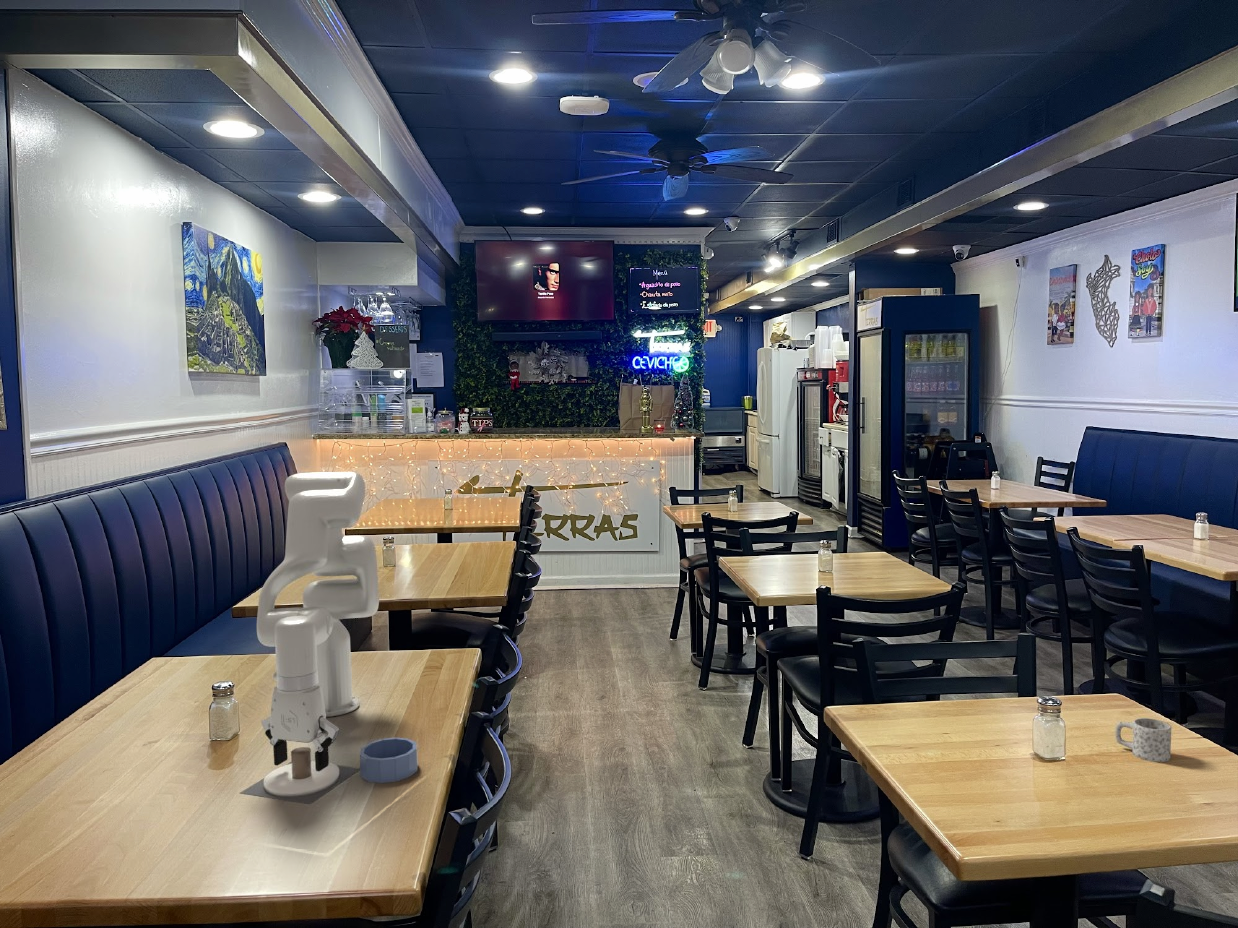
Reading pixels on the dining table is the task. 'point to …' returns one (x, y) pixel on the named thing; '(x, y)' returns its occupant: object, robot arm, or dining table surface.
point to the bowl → (388, 760)
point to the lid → (300, 776)
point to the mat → (307, 799)
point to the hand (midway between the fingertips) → (301, 765)
